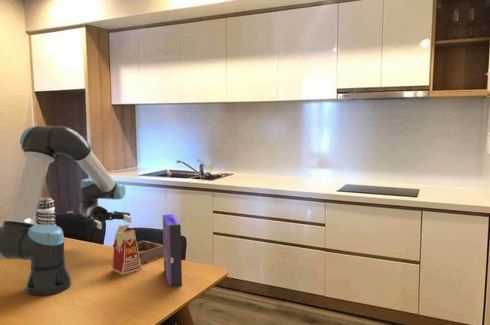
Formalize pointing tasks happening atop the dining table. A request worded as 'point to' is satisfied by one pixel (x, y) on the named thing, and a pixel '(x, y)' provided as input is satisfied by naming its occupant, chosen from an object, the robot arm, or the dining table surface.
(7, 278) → the dining table surface
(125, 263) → the milk carton
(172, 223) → the cereal box
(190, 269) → the dining table surface
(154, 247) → the open box
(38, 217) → the spiral seashell
